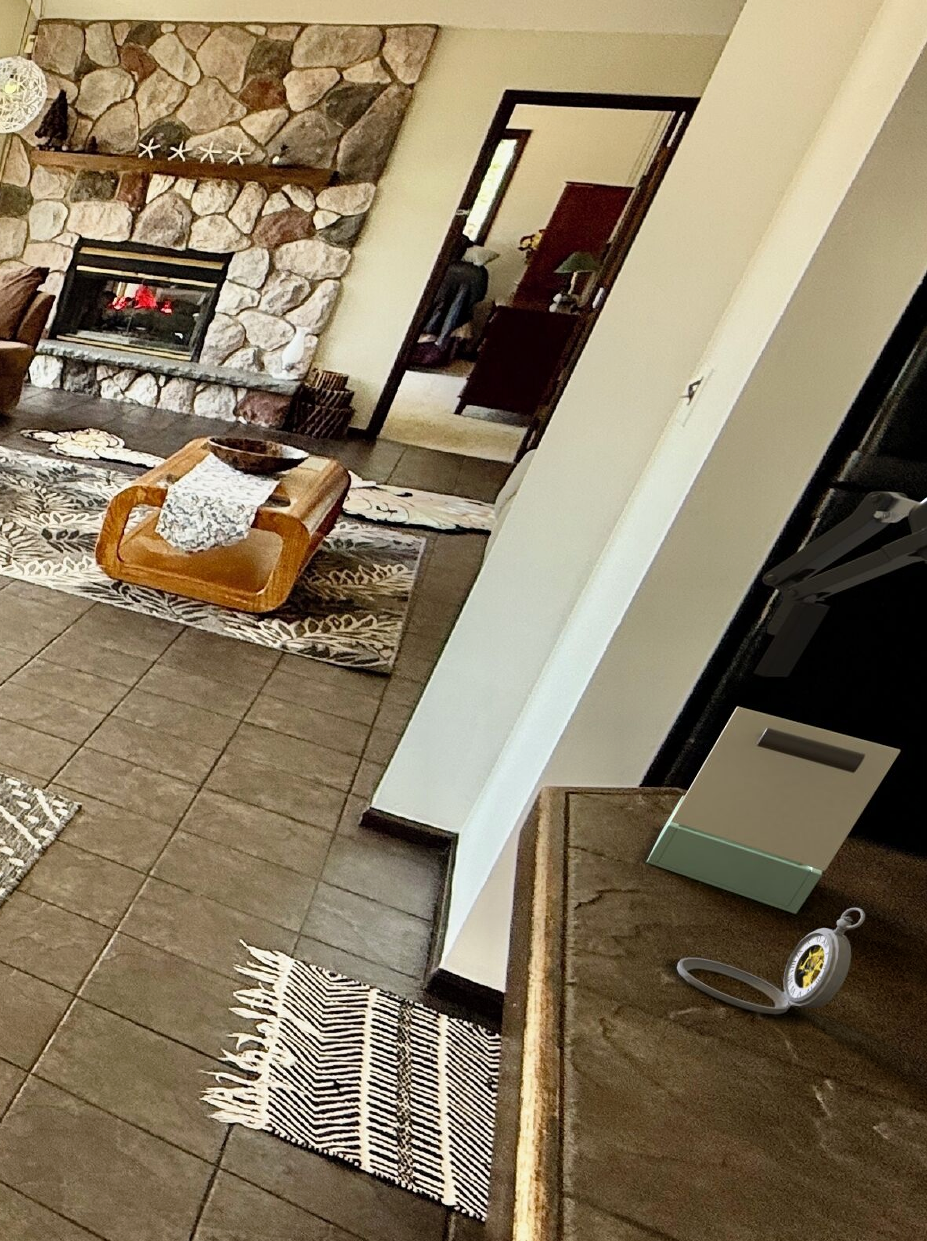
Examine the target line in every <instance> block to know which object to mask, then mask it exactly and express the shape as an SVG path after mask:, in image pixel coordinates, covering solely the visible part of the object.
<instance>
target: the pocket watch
mask: <svg viewBox="0 0 927 1241" xmlns="http://www.w3.org/2000/svg"><path fill="white" fill-rule="evenodd" d="M854 911H855V912H859V913H860V919H859V920H858V922H856V923H855V924H853V925H852V922H854V920H853V918H852V917H851V916H847V915H848V914H850V913H851V912H854ZM865 920H866V913H865V911H864V910H863V909H861V908H860V907H850V908H847V909H846V910H845V911H844V912H842V913H841V916H840V918H839V919H838V920H836V926H837V927H836V928H835V929H831V928H826V927H822V928H817V929H815V930H814V931H812V932H809V933H807V935H805V937H803V938H802V939H801V940H800V941H799V942H798V944H797V945H796V947H795V948H794V949H793V951H792V952H791V954H790V956H789V958H788V961H787V963H786V965H785V969H784V974H783V991H782V990H781V989H779V988H777V987H776V986H774V985H773V984H771V983H770V982H768V981H766V980H764V979H763V978H760V977H758V976H756V975H754V974H753V973H749V972H747V971H745V970H743V969H739V968H738V967H736V966H731V965H728V964H726V963H722V962H719V961H716V960H711V959H705V958H700V957H684V958H682V959H680V960H679V961H678V962H677V966H676V969H677V972H678V974H679V975H680V976H681V977H682V978H683V979H684V980H685V982H687V983H688V984H689V985H691V986H693V987H695V988H696V989H698V990H699V991H701V992H702V993H705V994H706V995H709V996H711V997H713V998H714V999H717V1000H719V1001H722V1002H724V1003H727V1004H729V1005H732V1006H734V1007H738V1008H741V1009H744V1010H747V1011H751V1012H755V1013H759V1014H766V1015H767V1014H768V1015H781V1014H785V1013H787V1012H788V1010H789V1009H790V1008H791V1007H792V1008H795V1007H800V1008H803V1009H811V1010H813V1009H819V1008H821V1007H823V1006H825V1005H826V1004H827V1003H829V1002H830V1001H831V1000H832V999H833V997H835V995H836V994H837V993H838V991H839V990H840V988H841V987H842V986H843V984H844V982H845V980H846V978H847V976H848V972H849V969H850V966H851V961H852V960H851V959H852V947H851V944H850V943H851V942H850V940H849V939H848V937H847V936H846V935H844V934H845V933H846V931H850V930H853V929H856V928H860V926H862V925H863V923H864V922H865ZM695 969H701V970H705V971H711V972H715V973H719V974H722V975H725V976H728V977H731V978H733V979H735V980H739V981H741V982H744V983H746V984H747V985H749V986H751V987H753V988H755V989H756V990H759V992H762V993H763V994H765V995H766V996H767V997H768V998H770V999H771V1000H772V1001H773V1002H774V1006H766V1005H761V1004H757V1003H753V1002H749V1001H746V1000H743V999H739V998H737V997H734V996H732V995H729V994H726V993H724V992H722V991H719V990H717V989H715V988H713V987H712V986H709V985H707V984H706V983H704V982H702V981H701V980H699V979H697V978H695V976H693V975H692V974H690V973H689V972H688V971H691V970H695Z"/></svg>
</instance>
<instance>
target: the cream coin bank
mask: <svg viewBox="0 0 927 1241" xmlns="http://www.w3.org/2000/svg"><path fill="white" fill-rule="evenodd" d="M900 753H901V749H899V748H895V747H891V746H887V745H883V744H880V743H877V742H873V741H869V740H865V739H861V738H858V737H854V736H850V735H847V734H842V733H839V732H835V731H832V730H828V729H824V728H820V727H816V726H812V725H809V724H804V723H802V722H797V721H793V720H790V719H786V718H782V717H780V716H775V715H771V714H768V713H764V712H760V711H756V710H752V709H748V708H745V707H741V706H736V708H735V709H734V711H733V712H732V714H731V716H730V718H729V719H728V721H727V723H726V725H725V727H724V728H723V730H722V731H721V733H720V735H719V737H718V738H717V740H716V742H715V744H714V745H713V747H712V749H711V751H710V752H709V753H708V755H707V757H706V759H705V761H704V762H703V764H702V766H701V768H700V770H699V771H698V773H697V775H696V777H695V778H694V780H693V782H692V783H691V785H690V787H689V789H688V790H687V792H686V794H685V795H684V796H685V797H684V799H683V801H682V802H681V804H680V806H679V807H678V809H677V811H676V813H675V814H674V816H673V818H672V819H671V821H672V822H674V823H677V824H680V825H683V826H686V827H690V828H693V829H696V830H699V831H702V832H705V833H708V834H711V835H714V836H717V837H720V838H723V839H727V840H730V841H733V842H736V843H739V844H742V845H745V846H748V847H751V848H754V849H757V850H760V851H764V852H767V853H770V854H773V855H776V856H779V857H782V858H785V859H788V860H791V861H794V862H797V863H801V864H804V865H807V866H810V867H813V868H816V869H819V870H822V872H825V871H826V870H827V869H828V867H829V866H830V864H831V863H832V861H833V860H834V858H835V856H836V854H837V853H838V852H839V850H840V848H841V846H842V845H843V843H844V842H845V840H846V839H847V837H848V835H849V834H850V832H851V831H852V829H853V827H854V826H855V825H856V823H857V821H858V819H859V818H860V816H861V815H862V813H863V811H864V810H865V808H866V807H867V805H868V804H869V802H870V800H871V799H872V797H873V796H874V794H875V792H876V791H877V790H878V787H880V785H881V783H882V781H883V780H884V778H885V777H886V775H887V773H888V771H889V770H890V769H891V767H892V765H893V763H894V762H895V761H896V759H897V757H898V756H899V754H900Z"/></svg>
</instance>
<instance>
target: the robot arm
mask: <svg viewBox="0 0 927 1241" xmlns="http://www.w3.org/2000/svg"><path fill="white" fill-rule="evenodd" d="M906 517H907V520H908V524H909V527H910V531H911V534H909V535H906V536H904V537H902V538H899V539H897V540H895V541H893V542H889V543H887V544H885V545H883V546H882V547H881V548H880V549H878V550H876V551H873V552H871V553H868V554H866V555H863V556H861V557H858V558H856V559H854V560H852V561H849V562H847V563H844V564H841V565H839V566H837V567H834V568H832V569H830V570H827V571H824V572H822V573H819V574H817V573H818V572H820V571H822V570H823V569H825V568H826V567H828V566H829V565H830V564H832V563H834V562H835V561H836V560H838V559H840V558H841V557H842V556H844V555H845V554H848V553H849V552H850V551H852V550H854V548H856V547H858V546H859V545H861V544H862V543H864V542H865V541H867V540H869V539H870V538H871V537H873V536H875V535H876V534H878V533H879V532H881V531H882V530H883V529H885V528H886V527H887V526H888V525H889V524H890V523H898V522H900V521H901V520H902V519H904V518H906ZM922 561H924V564H926V565H927V497H926V498H924V499H923V500H922V501H916V500H913V499H910V498H909V497H908V496H907V494H905V493H903V492H896V491H895V492H894V491H872V492H870V493H868V494H867V495H866V496H865V497H864V499H863V500H862V501H861V502H860V503H859V504H858V506H857V507H856V509H855V510H854V511H853V512H852V514H851V515H850V516H848V517H846V518H845V519H843V521H841V522H839V523H838V524H836V525H835V526H834V527H832V528H831V529H829V530H828V531H826V532H824V534H822V535H820V536H819V537H818V538H816V539H814V540H813V541H811V542H810V543H808V544H807V545H805V546H804V547H803V548H801V549H800V550H799V551H797V552H795V553H794V554H792V555H791V556H790V557H788V558H786V559H785V560H784V561H782V562H780V563H779V564H778V565H776V566H775V567H773V568H772V569H771V570H769V571H768V572H766V573H765V574H764V575H763V577H762V578H761V579H762V583H763V584H764V585H766V586H767V587H768V586H769V587H772V588H774V589H776V590H777V591H778V592H780V593H781V595H782V601H781V603H780V604H779V606H778V608H777V610H776V611H775V613H774V615H773V617H772V618H771V620H770V622H769V623H768V624H767V628H766V633H767V634H769V635H772V636H774V637H773V639H772V641H771V643H770V644H769V646H768V647H767V649H766V651H765V653H764V654H763V656H762V658H761V659H760V661H759V663H758V665H757V666H756V668H755V669H754V671H753V674H755V675H757V676H761V677H765V678H766V677H767V678H769V677H771V678H778V677H779V678H788V677H789V676H790V674H791V672H792V671H793V669H794V667H795V666H796V664H797V662H798V661H799V660H800V657H801V656H802V654H803V653H804V651H805V649H806V648H807V646H808V644H809V642H810V641H811V639H812V638H813V636H814V635H815V633H816V631H817V629H818V628H819V626H820V624H821V623H822V621H823V619H824V618H825V616H827V613H828V611H829V610H830V609H831V606H829V605H826V604H822V603H815V602H822V601H826V600H825V598H827V597H830V596H832V595H835V594H837V593H839V592H842V591H845V590H848V589H850V588H853V587H855V586H857V585H860V584H862V583H865V582H867V581H870V580H872V579H875V578H877V577H880V576H883V575H885V574H888V573H890V572H892V571H893V572H894V571H896V570H898V569H901V568H902V567H906V566H907V565H910V564H914V563H918V562H922ZM816 574H817V575H816ZM812 576H813V577H812Z"/></svg>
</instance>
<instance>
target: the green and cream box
mask: <svg viewBox="0 0 927 1241" xmlns="http://www.w3.org/2000/svg"><path fill="white" fill-rule="evenodd" d="M684 797H685V795H682V796H681V798H680V799H679V801H678V803H677V804H676V806H675V808H674V809H673V811H672V813H671V814H670V816H669V818H668V819H667V821H666V823H665V824H664V827H663V828H662V830H661V832H660V833H659V836H658V838H657V839H656V842H655V843H654V846H653V848H652V850H651V852H650V854H649V856H648V858H647V860H646V863H647V864H650V865H653V866H656V867H659V868H661V869H664V870H667V871H670V872H673V873H676V874H679V875H682V876H685V877H688V878H691V879H693V880H696V881H699V882H701V883H705V884H707V885H711V886H713V887H716V888H719V889H722V890H726V891H728V892H731V893H734V894H737V895H740V896H743V897H745V898H749V899H751V900H754V901H757V902H760V903H762V904H765V905H769V906H771V907H774V908H776V909H777V908H778V909H780V910H783V911H785V912H789V913H792V914H795V915H796V914H797V913H798V912H799V910H800V909H801V907H802V906H803V904H804V903H805V902H806V900H807V899H808V897H809V895H810V894H811V892H812V891H813V889H814V888H815V886H816V885H817V883H818V882H819V880H820V879H821V877H822V875H823V871H822V870H819V869H816V868H813V867H810V866H807V865H804V864H801V863H797V862H794V861H791V860H788V859H785V858H782V857H779V856H776V855H773V854H770V853H767V852H764V851H760V850H757V849H754V848H751V847H748V846H745V845H742V844H739V843H736V842H733V841H730V840H727V839H723V838H720V837H717V836H714V835H711V834H708V833H705V832H702V831H699V830H696V829H693V828H690V827H686V826H683V825H680V824H677V823H674V822H672V821H671V819H672V818H673V816H674V814H675V813H676V811H677V809H678V807H679V806H680V804H681V802H682V801H683V799H684Z"/></svg>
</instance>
